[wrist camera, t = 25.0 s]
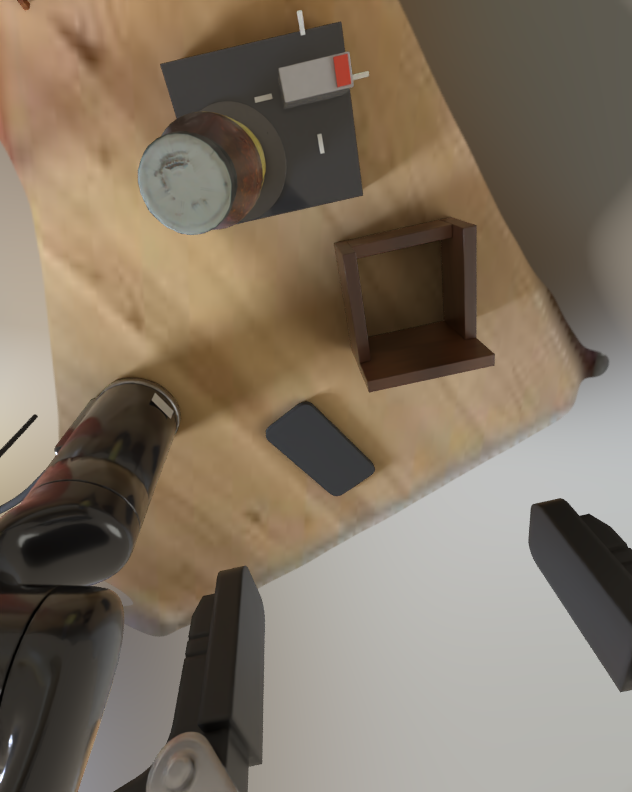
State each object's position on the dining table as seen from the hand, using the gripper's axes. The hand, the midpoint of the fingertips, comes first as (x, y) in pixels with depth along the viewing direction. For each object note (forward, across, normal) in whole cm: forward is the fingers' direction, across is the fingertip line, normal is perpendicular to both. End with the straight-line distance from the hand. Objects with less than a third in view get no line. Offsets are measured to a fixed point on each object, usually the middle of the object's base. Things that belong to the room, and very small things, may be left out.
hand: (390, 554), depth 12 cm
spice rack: (+36, -9, +4) cm, 37 cm away
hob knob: (+33, -4, -14) cm, 36 cm away
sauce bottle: (+33, +4, -10) cm, 35 cm away
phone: (+36, +3, +23) cm, 43 cm away
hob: (+36, 0, -12) cm, 38 cm away
